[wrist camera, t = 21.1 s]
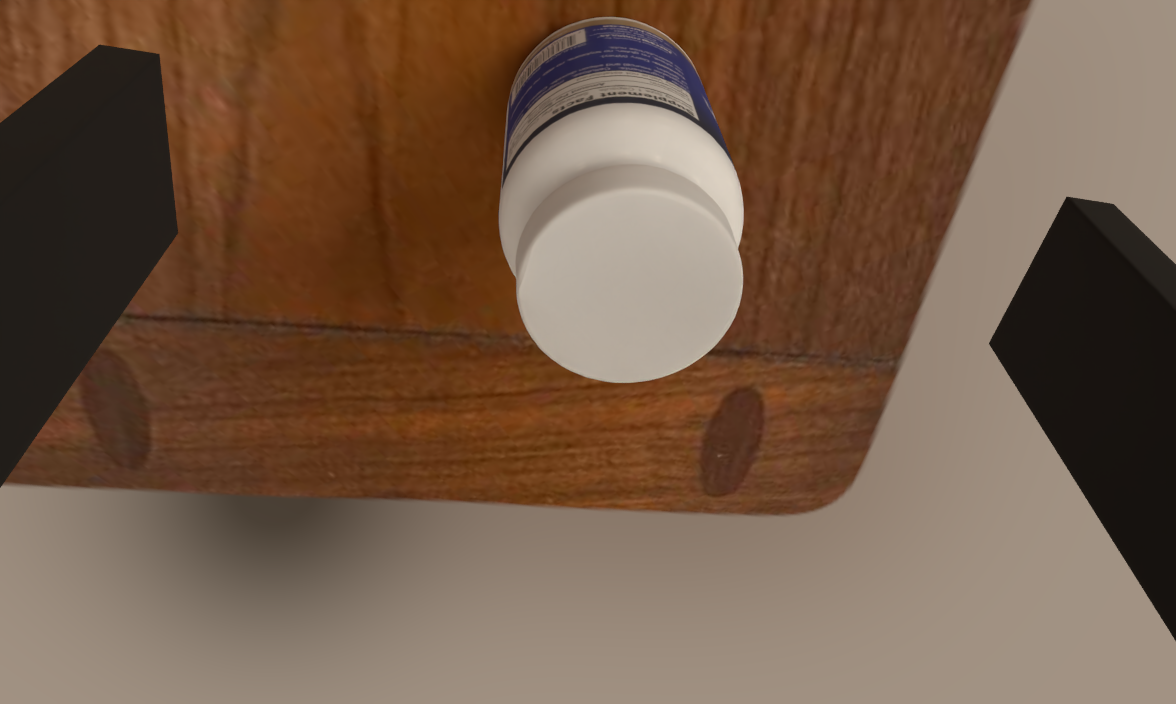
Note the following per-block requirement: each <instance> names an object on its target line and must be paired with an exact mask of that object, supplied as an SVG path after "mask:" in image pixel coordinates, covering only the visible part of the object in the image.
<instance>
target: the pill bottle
mask: <svg viewBox="0 0 1176 704" xmlns="http://www.w3.org/2000/svg"><path fill="white" fill-rule="evenodd" d="M498 214H499V231H500V238H501V243H502V248H503V251H504V254H505V257H506V259H507V262H508V264H509V266H510V268H511V270H512V272H513V274H514V276H515V277H516V294H517V302H518V307H519V311H520V314H521V317H522V320H523V322H524V324H525V326H526V329H527V330H528V332H529V334H530V336H531V337H532V339H533V340H534V341H535V343H536V344H537V345H538V347H539V348H540V349H541V350H542V351H543V352H544V353H545V354H547V355H548V356H549V357H550V358H551V359H552V360H554V361H555V362H557V363H558V364H560V365H561V366H563V367H565V368H566V369H568V370H570V371H572V372H575V373H577V374H580V375H582V376H585V377H587V378H592V379H596V380H601V381H606V382H617V383H632V382H642V381H649V380H653V379H657V378H661V377H664V376H667V375H670V374H672V373H675V372H677V371H680V370H682V369H684V368H686V367H688V366H689V365H691V364H692V363H694V362H695V361H697V360H698V359H700V358H701V357H702V356H704V355H705V354H706V353H707V352H709V351H710V350H711V349H712V348H713V347H714V346H715V345H716V344H717V343H718V342H719V340H720V339H721V338H722V337H723V336H724V334H725V333H726V331H727V330H728V328H729V327H730V325H731V323H732V322H733V320H734V318H735V316H736V313H737V310H738V307H739V304H740V300H741V296H742V288H743V269H742V263H741V258H740V254H739V251H738V246H739V243H740V239H741V235H742V229H743V217H744V208H743V198H742V192H741V187H740V183H739V179H738V177H737V173H736V170H735V167H734V165H733V162H732V159H731V157H730V154H729V152H728V149H727V147H726V144H725V142H724V139H723V137H722V134H721V132H720V129H719V126H718V124H717V121H716V119H715V116H714V114H713V111H712V108H711V106H710V103H709V100H708V98H707V95H706V93H705V90H704V87H703V85H702V82H701V80H700V78H699V75H698V73H697V71H696V69H695V67H694V65H693V63H692V61H691V60H690V59H689V57H688V56H687V55H686V53H685V52H684V51H683V50H682V49H681V48H680V47H679V45H677V44H676V43H675V42H674V41H673V40H672V39H670V38H669V37H668V36H667V35H665V34H664V33H662V32H661V31H659V30H657V29H655V28H653V27H651V26H649V25H647V24H644V23H642V22H639V21H636V20H632V19H627V18H619V17H597V18H591V19H586V20H582V21H579V22H576V23H573V24H570V25H567V26H565V27H563V28H561V29H559V30H557V31H556V32H554V33H552V34H551V35H550V36H548V37H547V38H546V39H544V40H543V41H542V42H541V43H540V44H539V45H538V46H537V47H536V48H535V49H534V50H533V51H532V52H531V53H530V54H529V56H528V57H527V58H526V60H525V61H524V62H523V64H522V65H521V67H520V69H519V71H518V73H517V75H516V77H515V79H514V82H513V85H512V88H511V91H510V96H509V101H508V107H507V118H506V128H505V141H504V157H503V171H502V181H501V192H500V205H499V211H498Z"/></svg>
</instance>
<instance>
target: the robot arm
mask: <svg viewBox="0 0 1176 704" xmlns="http://www.w3.org/2000/svg"><path fill="white" fill-rule="evenodd" d="M177 234H178V229H177V220H176V210H175V200H174V191H173V181H172V172H171V162H170V152H169V143H168V133H167V123H166V114H165V104H164V95H163V85H162V75H161V66H160V56H159V54H156V53H149V52H143V51H137V50H130V49H124V48H117V47H111V46H105V45H98V46H97V47H96V48H95V49H93V50H92V51H91V52H90V53H88V54H87V55H86V56H84V57H83V58H82V59H81V60H79V61H78V62H77V63H76V64H74V65H73V66H72V67H71V68H69V69H68V70H67V71H66V72H64V73H63V74H62V75H60V76H59V77H58V78H57V79H55V80H54V81H53V82H52V83H50V84H49V85H48V86H47V87H45V88H44V89H43V90H41V91H40V92H39V93H38V94H36V95H35V96H34V97H33V98H31V99H30V100H29V101H28V102H26V103H25V104H24V105H22V106H21V107H20V108H19V109H17V110H16V111H15V112H14V113H12V114H11V115H10V116H9V117H7V118H6V119H5V120H4V121H2V122H1V123H0V487H1V486H2V484H3V483H4V482H5V480H6V479H7V477H8V476H9V474H10V473H11V472H12V470H13V469H14V467H15V466H16V464H17V463H18V462H19V460H20V459H21V457H22V456H23V454H24V453H25V452H26V450H27V449H28V447H29V446H30V444H31V443H32V441H33V440H34V439H35V437H36V436H37V434H38V433H39V431H40V430H41V429H42V427H43V426H44V424H45V423H46V421H47V420H48V419H49V417H50V416H51V414H52V413H53V411H54V410H55V409H56V407H57V406H58V404H59V403H60V401H61V400H62V399H63V397H64V396H65V394H66V393H67V391H68V390H69V388H70V387H71V386H72V384H73V383H74V381H75V380H76V378H77V377H78V376H79V374H80V373H81V371H82V370H83V368H84V367H85V366H86V364H87V363H88V361H89V360H90V358H91V357H92V356H93V354H94V353H95V351H96V350H97V348H98V347H99V346H100V344H101V343H102V341H103V340H104V338H105V337H106V335H107V334H108V333H109V331H110V330H111V328H112V327H113V325H114V324H115V323H116V321H117V320H118V318H119V317H120V315H121V314H122V313H123V311H124V310H125V308H126V307H127V305H128V304H129V303H130V301H131V300H132V298H133V297H134V295H135V294H136V293H137V291H138V290H139V288H140V287H141V285H142V284H143V283H144V281H145V280H146V278H147V277H148V275H149V274H150V272H151V271H152V270H153V268H154V267H155V265H156V264H157V262H158V261H159V260H160V258H161V257H162V255H163V254H164V252H165V251H166V250H167V248H168V247H169V245H170V244H171V242H172V241H173V240H174V238H175V237H176V235H177ZM989 344H990V346H991V348H992V349H993V351H994V352H995V354H996V356H997V357H998V359H999V360H1000V362H1001V364H1002V365H1003V367H1004V368H1005V370H1006V372H1007V373H1008V375H1009V376H1010V378H1011V379H1012V381H1013V383H1014V384H1015V386H1016V387H1017V389H1018V391H1019V392H1020V394H1021V395H1022V397H1023V398H1024V400H1025V402H1026V403H1027V405H1028V407H1029V408H1030V410H1031V411H1032V413H1033V414H1034V416H1035V418H1036V419H1037V421H1038V422H1039V424H1040V426H1041V427H1042V429H1043V430H1044V432H1045V434H1046V435H1047V437H1048V438H1049V440H1050V441H1051V443H1052V445H1053V446H1054V448H1055V450H1056V451H1057V453H1058V454H1059V456H1060V457H1061V459H1062V460H1063V462H1064V464H1065V465H1066V467H1067V469H1068V470H1069V471H1070V473H1071V475H1072V477H1073V478H1074V480H1075V481H1076V483H1077V485H1078V486H1079V488H1080V489H1081V491H1082V492H1083V494H1084V496H1085V497H1086V499H1087V500H1088V502H1089V504H1090V505H1091V507H1092V508H1093V510H1094V512H1095V513H1096V515H1097V516H1098V518H1099V520H1100V521H1101V523H1102V524H1103V526H1104V527H1105V529H1106V531H1107V532H1108V534H1109V535H1110V537H1111V539H1112V540H1113V542H1114V543H1115V545H1116V546H1117V548H1118V550H1119V551H1120V553H1121V554H1122V556H1123V558H1124V559H1125V561H1126V562H1127V564H1128V566H1129V567H1130V569H1131V570H1132V572H1133V574H1134V575H1135V577H1136V578H1137V580H1138V581H1139V583H1140V585H1141V586H1142V588H1143V590H1144V591H1145V593H1146V594H1147V596H1148V598H1149V599H1150V601H1151V602H1152V604H1153V605H1154V607H1155V609H1156V610H1157V612H1158V613H1159V615H1160V617H1161V618H1162V620H1163V621H1164V623H1165V625H1166V626H1167V628H1168V629H1169V631H1170V632H1171V634H1172V636H1173V637H1174V639H1175V640H1176V264H1175V263H1174V262H1173V261H1172V260H1171V259H1169V258H1168V257H1167V256H1166V255H1165V254H1164V253H1163V252H1162V251H1161V250H1160V249H1159V248H1158V247H1157V246H1156V245H1155V244H1154V243H1153V242H1152V241H1151V240H1150V239H1149V238H1148V237H1147V236H1146V235H1145V234H1144V233H1143V232H1142V231H1141V230H1140V229H1139V228H1138V227H1137V226H1135V224H1133V223H1132V222H1131V221H1130V220H1129V219H1128V218H1127V217H1126V216H1125V215H1124V214H1123V213H1122V212H1121V211H1120V210H1119V209H1118V208H1117V207H1116V206H1115V205H1114V204H1110V203H1104V202H1097V201H1091V200H1084V199H1078V198H1071V197H1066V199H1065V201H1064V203H1063V205H1062V206H1061V208H1060V210H1059V212H1058V214H1057V216H1056V218H1055V220H1054V222H1053V223H1052V226H1051V227H1050V229H1049V231H1048V233H1047V235H1046V237H1045V238H1044V240H1043V242H1042V244H1041V246H1040V248H1039V250H1038V252H1037V254H1036V255H1035V257H1034V259H1033V261H1032V263H1031V265H1030V267H1029V269H1028V271H1027V273H1026V274H1025V276H1024V278H1023V280H1022V282H1021V284H1020V286H1019V288H1018V290H1017V291H1016V294H1015V295H1014V297H1013V299H1012V301H1011V303H1010V305H1009V307H1008V308H1007V310H1006V312H1005V314H1004V316H1003V318H1002V320H1001V322H1000V324H999V326H998V327H997V329H996V331H995V333H994V335H993V337H992V339H991V341H990V343H989Z"/></svg>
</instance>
